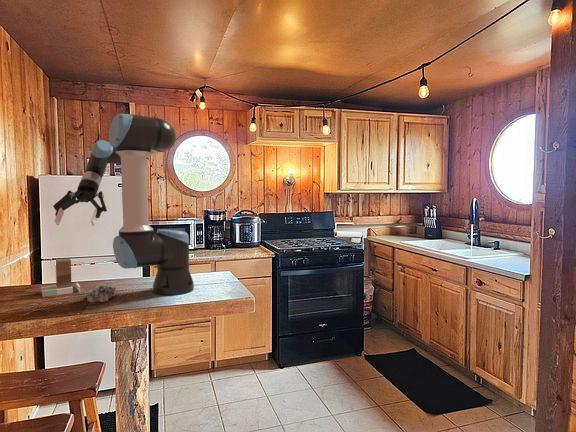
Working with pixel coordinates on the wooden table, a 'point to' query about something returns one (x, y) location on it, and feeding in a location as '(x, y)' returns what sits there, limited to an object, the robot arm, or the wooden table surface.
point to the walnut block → (63, 273)
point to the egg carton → (100, 293)
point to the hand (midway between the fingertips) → (74, 223)
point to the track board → (58, 290)
